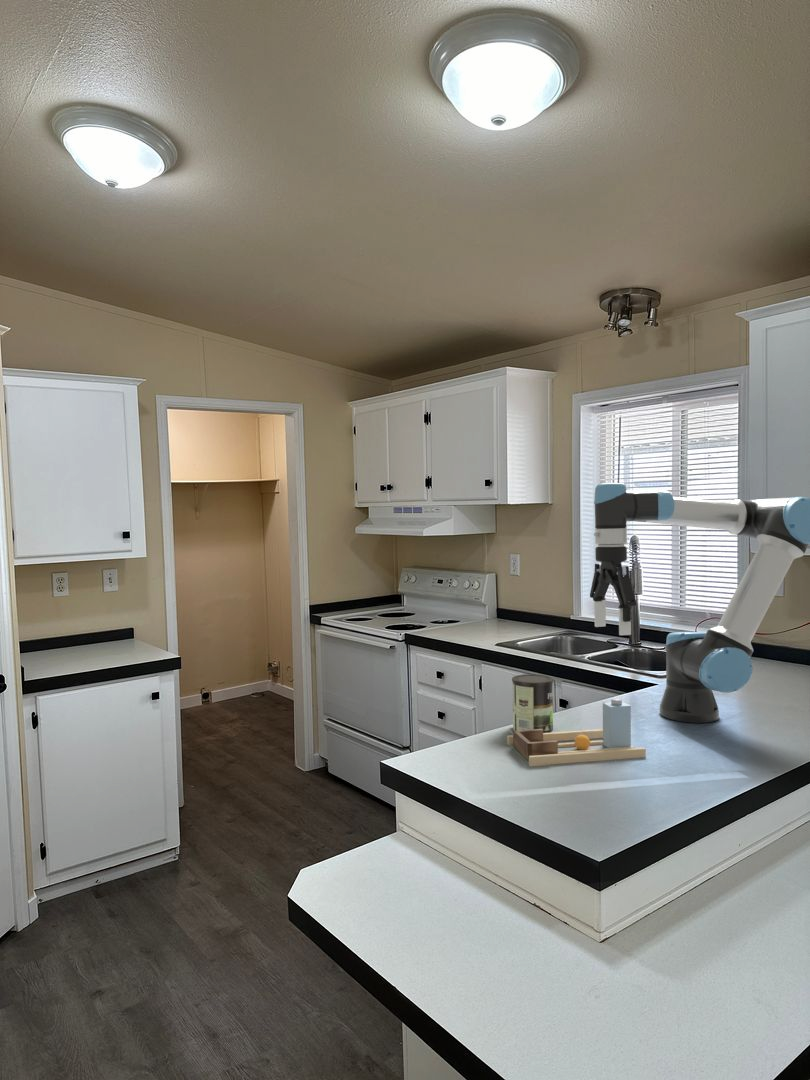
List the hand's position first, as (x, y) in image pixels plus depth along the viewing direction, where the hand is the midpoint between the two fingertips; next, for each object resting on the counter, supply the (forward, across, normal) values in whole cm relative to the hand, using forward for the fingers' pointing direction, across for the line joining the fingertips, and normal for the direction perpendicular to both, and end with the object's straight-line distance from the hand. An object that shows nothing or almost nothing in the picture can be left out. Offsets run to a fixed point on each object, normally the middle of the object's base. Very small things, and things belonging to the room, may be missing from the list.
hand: (612, 630), depth 181 cm
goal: (+25, +12, -25) cm, 37 cm away
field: (+26, +12, -16) cm, 33 cm away
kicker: (+25, +12, -5) cm, 28 cm away
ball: (+24, +12, -14) cm, 30 cm away
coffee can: (+26, -6, -19) cm, 33 cm away
